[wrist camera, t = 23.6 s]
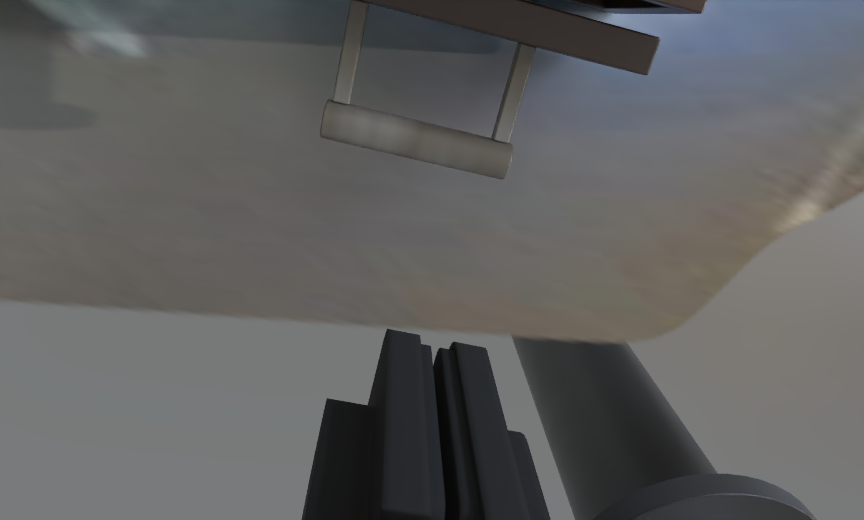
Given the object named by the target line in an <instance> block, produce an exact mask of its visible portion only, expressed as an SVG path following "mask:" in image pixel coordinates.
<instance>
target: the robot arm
mask: <svg viewBox="0 0 864 520" xmlns="http://www.w3.org/2000/svg"><path fill="white" fill-rule="evenodd" d="M302 520H550V516H549V513H548V510H547V506H546V503H545V500H544V496H543V493H542V490H541V486H540V483H539V480H538V476H537V473H536V470H535V466H534V463H533V459H532V456H531V453H530V449H529V446H528V443H527V440H526V438H525V436H524V434H522V433H521V432H515V431H509V430H507V426H506V422H505V419H504V414H503V411H502V407H501V403H500V399H499V395H498V392H497V387H496V384H495V380H494V376H493V372H492V368H491V364H490V360H489V357H488V353H487V350H486V348H483V347H478V346H473V345H468V344H463V343H458V342H453V343H452V344H451V346H450V349H444V348H439V350H438V352H437V355H436V358H435V361H434V365H433V363H432V352H431V346H428V345H423V344H421V341H420V335H416V334H411V333H406V332H401V331H396V330H391V329H387V331H386V334H385V337H384V341H383V345H382V349H381V353H380V358H379V361H378V365H377V370H376V374H375V378H374V382H373V386H372V390H371V394H370V398H369V402H368V406H367V405H361V404H356V403H350V402H345V401H339V400H333V399H327V401H326V405H325V409H324V414H323V418H322V423H321V427H320V432H319V437H318V442H317V446H316V451H315V455H314V461H313V465H312V470H311V475H310V480H309V485H308V490H307V495H306V500H305V506H304V510H303V516H302Z"/></svg>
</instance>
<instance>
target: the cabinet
mask: <svg viewBox="0 0 864 520" xmlns="http://www.w3.org/2000/svg"><path fill="white" fill-rule="evenodd" d="M567 1H571V2H574V3H578V4H581V5H585V6H589V7H592V8H596V9H599V10H603V11H607V12H610V13H614V14H701V13H702V12H703V10H704V7H705V5H706V2H707V0H567Z"/></svg>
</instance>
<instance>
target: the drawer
mask: <svg viewBox="0 0 864 520" xmlns="http://www.w3.org/2000/svg"><path fill="white" fill-rule="evenodd" d="M369 3H371V4H374V5H378V6H382V7H386V8H390V9H393V10H397V11H401V12H405V13H409V14H412V15H416V16H420V17H424V18H427V19H431V20H435V21H439V22H443V23H446V24H450V25H454V26H458V27H462V28H465V29H469V30H473V31H477V32H480V33H484V34H488V35H492V36H496V37H499V38H503V39H507V40H511V41H514V42H518V44H517V48H516V51H515V55H514V58H513V62H512V66H511V69H510V73H509V76H508V80H507V83H506V87H505V91H504V94H503V98H502V101H501V105H500V108H499V112H498V116H497V119H496V123H495V126H494V130H493V134H492V138H493V139H492V138H488V137H484V136H479V135H475V134H471V133H467V132H463V131H459V130H454V129H450V128H446V127H442V126H438V125H434V124H430V123H425V122H421V121H417V120H413V119H409V118H405V117H401V116H396V115H392V114H388V113H384V112H380V111H376V110H372V109H367V108H363V107H359V106H355V105H351V104H349V103H350V100H351V95H352V90H353V84H354V79H355V74H356V69H357V64H358V59H359V53H360V48H361V43H362V38H363V33H364V27H365V22H366V17H367V12H368V7H369ZM659 42H660V38H659V37H655V36H652V35H648V34H644V33H641V32H637V31H633V30H630V29H626V28H622V27H619V26H615V25H611V24H608V23H604V22H600V21H597V20H593V19H590V18H586V17H582V16H579V15H575V14H571V13H568V12H564V11H560V10H557V9H553V8H549V7H546V6H542V5H538V4H535V3H531V2H528V1H524V0H351V2H350V7H349V12H348V18H347V23H346V29H345V34H344V40H343V45H342V51H341V56H340V62H339V67H338V73H337V78H336V84H335V89H334V94H333V100H330V99H328V100H327V102H326V105H325V109H324V113H323V118H322V123H321V130H320V136H321V138H325V139H330V140H334V141H338V142H342V143H347V144H351V145H355V146H360V147H364V148H368V149H373V150H377V151H381V152H385V153H390V154H394V155H398V156H403V157H407V158H411V159H416V160H420V161H424V162H428V163H433V164H437V165H441V166H446V167H450V168H454V169H459V170H463V171H467V172H472V173H476V174H480V175H484V176H489V177H493V178H497V179H504V178H505V177H506V175H507V173H508V170H509V168H510V164H511V160H512V155H513V145H512V144H511V143H509V140H510V137H511V134H512V130H513V127H514V123H515V120H516V116H517V113H518V109H519V106H520V103H521V99H522V96H523V92H524V89H525V85H526V82H527V78H528V75H529V72H530V68H531V65H532V61H533V58H534V54H535V51H536V47H537V48H541V49H545V50H549V51H552V52H556V53H560V54H564V55H567V56H571V57H575V58H579V59H583V60H586V61H590V62H594V63H598V64H602V65H606V66H610V67H614V68H618V69H622V70H626V71H630V72H634V73H638V74H642V75H648V73H649V70H650V68H651V65H652V62H653V59H654V56H655V54H656V51H657V48H658V45H659Z"/></svg>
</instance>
